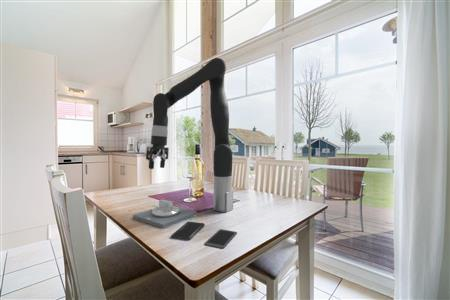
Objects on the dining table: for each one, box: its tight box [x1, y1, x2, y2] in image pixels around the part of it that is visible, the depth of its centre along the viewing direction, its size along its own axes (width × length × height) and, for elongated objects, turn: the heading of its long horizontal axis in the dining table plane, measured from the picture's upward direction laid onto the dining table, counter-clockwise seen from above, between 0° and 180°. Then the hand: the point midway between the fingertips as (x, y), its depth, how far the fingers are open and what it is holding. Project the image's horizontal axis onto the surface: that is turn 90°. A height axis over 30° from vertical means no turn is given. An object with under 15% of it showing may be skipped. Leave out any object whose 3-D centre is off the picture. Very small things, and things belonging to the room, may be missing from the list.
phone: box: [170, 221, 206, 242], centre depth 84 cm, size 8×1×15 cm
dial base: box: [132, 205, 198, 229], centre depth 100 cm, size 20×20×2 cm
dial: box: [151, 199, 179, 218], centre depth 101 cm, size 16×12×6 cm
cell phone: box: [203, 228, 238, 250], centre depth 78 cm, size 7×14×1 cm, turn 157°
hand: (156, 168), depth 107 cm, fingers open, 8 cm apart
